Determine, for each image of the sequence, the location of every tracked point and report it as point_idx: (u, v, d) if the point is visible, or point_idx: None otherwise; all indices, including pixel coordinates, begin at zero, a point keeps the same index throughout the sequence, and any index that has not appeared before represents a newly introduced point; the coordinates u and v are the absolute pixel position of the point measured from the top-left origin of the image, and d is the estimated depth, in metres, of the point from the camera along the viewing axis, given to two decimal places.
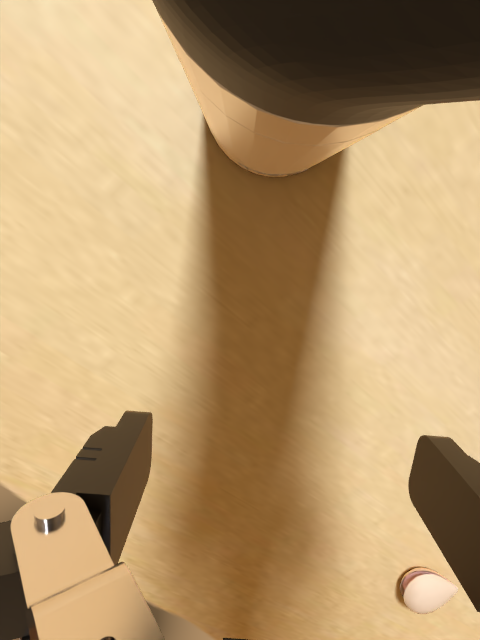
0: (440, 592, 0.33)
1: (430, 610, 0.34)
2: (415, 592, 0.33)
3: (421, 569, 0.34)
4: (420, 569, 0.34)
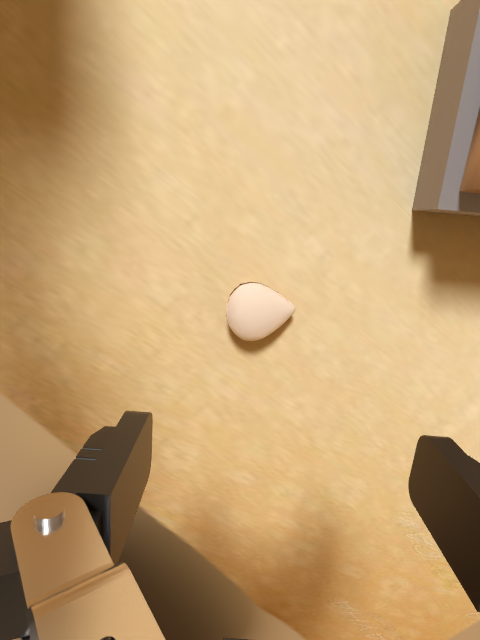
0: (267, 301, 0.27)
1: (257, 328, 0.27)
2: (235, 302, 0.27)
3: None
4: (247, 283, 0.28)
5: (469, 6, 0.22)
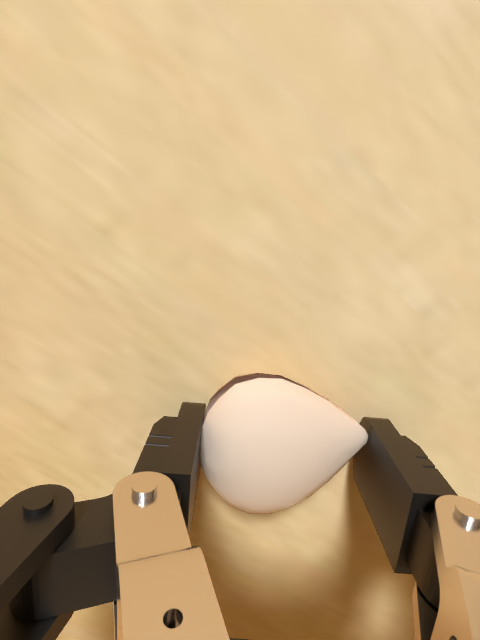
0: (303, 429, 0.10)
1: (276, 494, 0.11)
2: (222, 431, 0.10)
3: (256, 374, 0.11)
4: (253, 374, 0.11)
5: None
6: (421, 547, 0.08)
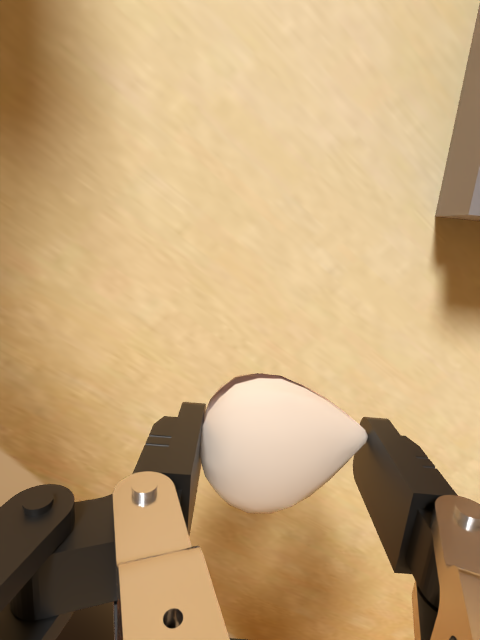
0: (303, 430, 0.10)
1: (276, 494, 0.11)
2: (222, 431, 0.10)
3: (256, 374, 0.11)
4: (253, 374, 0.11)
5: None
6: (421, 547, 0.08)
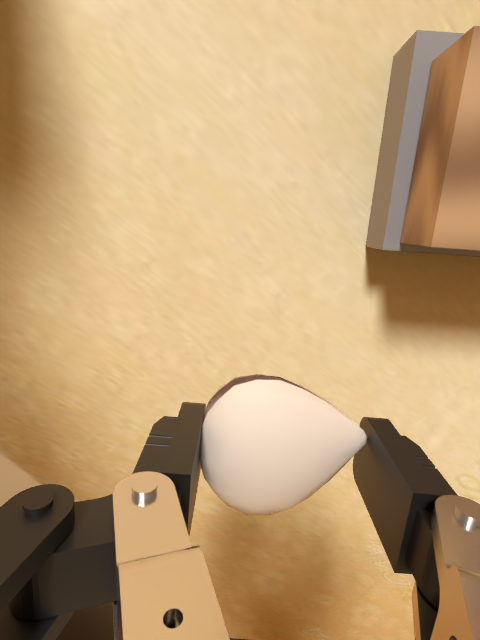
0: (302, 431, 0.10)
1: (275, 495, 0.11)
2: (220, 432, 0.10)
3: (255, 375, 0.11)
4: (252, 375, 0.11)
5: (405, 57, 0.23)
6: (421, 547, 0.08)
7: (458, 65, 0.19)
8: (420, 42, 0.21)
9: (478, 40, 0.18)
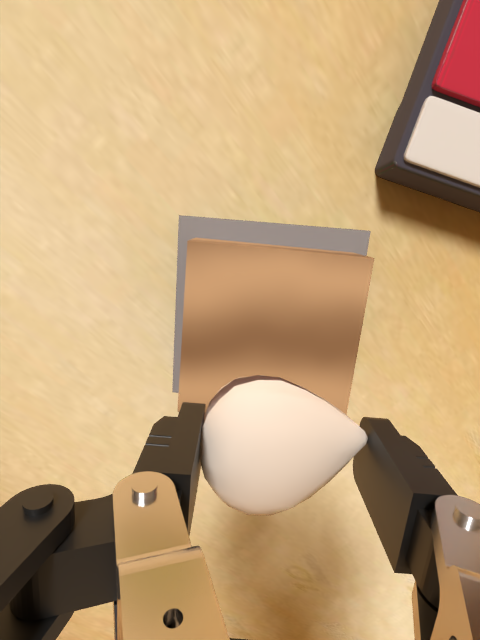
0: (303, 431, 0.10)
1: (276, 496, 0.11)
2: (221, 433, 0.10)
3: (255, 376, 0.11)
4: (252, 376, 0.11)
5: None
6: (421, 547, 0.08)
7: None
8: (183, 225, 0.24)
9: (192, 251, 0.20)
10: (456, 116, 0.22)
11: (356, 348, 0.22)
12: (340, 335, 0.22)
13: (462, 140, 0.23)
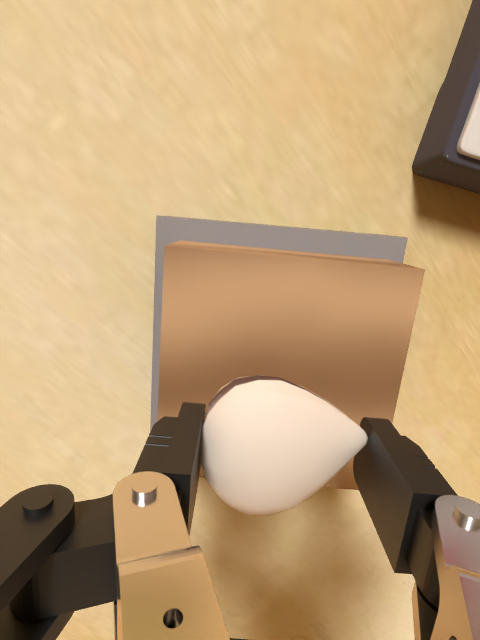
0: (303, 431, 0.10)
1: (276, 496, 0.11)
2: (222, 433, 0.10)
3: (255, 376, 0.11)
4: (252, 376, 0.11)
5: None
6: (421, 547, 0.08)
7: None
8: (162, 228, 0.18)
9: (171, 261, 0.15)
10: None
11: (396, 391, 0.16)
12: (375, 373, 0.16)
13: None
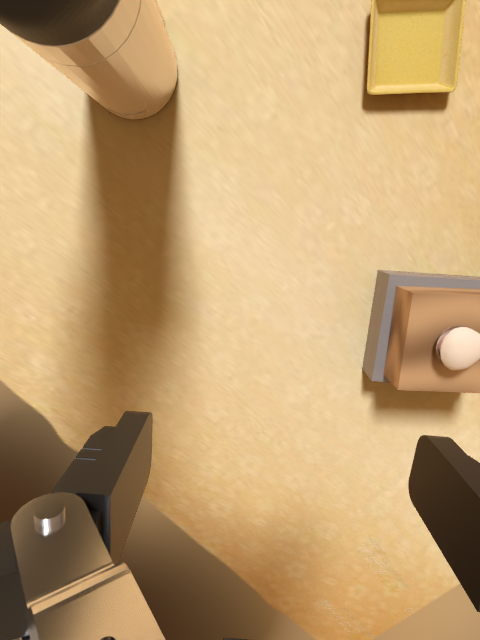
0: (475, 341, 0.35)
1: (466, 361, 0.35)
2: (451, 342, 0.35)
3: (456, 326, 0.36)
4: None
5: (383, 281, 0.41)
6: None
7: (407, 304, 0.37)
8: (391, 280, 0.40)
9: (415, 298, 0.36)
10: None
11: None
12: None
13: None
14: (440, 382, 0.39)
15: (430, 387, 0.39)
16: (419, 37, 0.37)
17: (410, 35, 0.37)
